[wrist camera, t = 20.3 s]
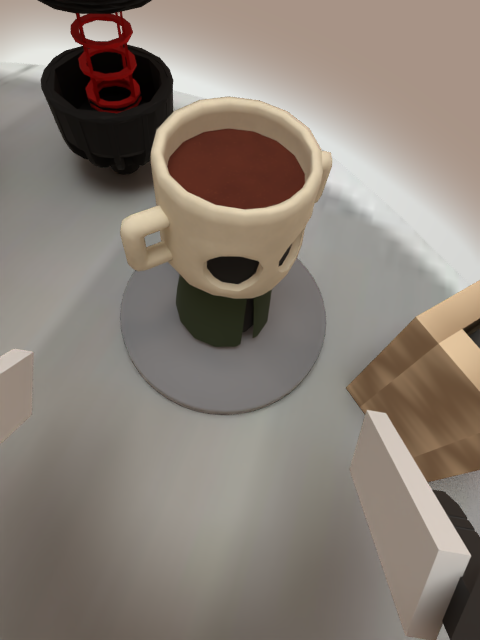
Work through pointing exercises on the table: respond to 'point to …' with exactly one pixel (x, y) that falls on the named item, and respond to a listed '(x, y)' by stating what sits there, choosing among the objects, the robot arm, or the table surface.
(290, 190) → the character mug
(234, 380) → the coaster
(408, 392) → the block
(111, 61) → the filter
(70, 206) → the table surface
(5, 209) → the table surface
